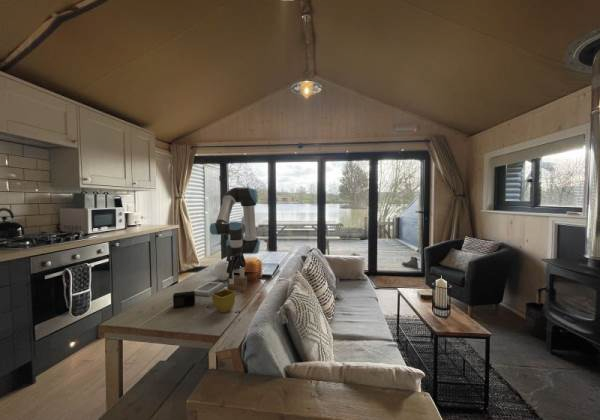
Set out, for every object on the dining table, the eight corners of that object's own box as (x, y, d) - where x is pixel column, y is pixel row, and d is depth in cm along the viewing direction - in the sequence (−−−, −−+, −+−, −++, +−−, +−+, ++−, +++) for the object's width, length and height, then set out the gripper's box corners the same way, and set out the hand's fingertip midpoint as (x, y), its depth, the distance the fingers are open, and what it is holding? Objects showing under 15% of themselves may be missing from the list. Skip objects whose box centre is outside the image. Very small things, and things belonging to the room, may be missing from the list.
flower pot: (222, 315, 134) (221, 297, 134) (211, 311, 140) (211, 293, 139) (236, 309, 141) (236, 292, 141) (225, 305, 147) (225, 288, 146)
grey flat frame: (208, 283, 182) (208, 280, 181) (227, 285, 178) (227, 282, 178) (188, 294, 162) (188, 291, 162) (209, 296, 159) (209, 293, 159)
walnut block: (231, 287, 174) (230, 275, 174) (247, 288, 171) (246, 276, 171) (227, 289, 170) (227, 277, 169) (243, 291, 167) (243, 278, 166)
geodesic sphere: (242, 271, 190) (233, 254, 193) (227, 276, 178) (217, 258, 182) (230, 280, 196) (222, 264, 200) (215, 286, 185) (206, 268, 188)
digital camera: (172, 309, 142) (172, 296, 141) (174, 305, 147) (174, 292, 146) (194, 307, 145) (193, 294, 144) (195, 303, 150) (194, 290, 149)
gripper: (240, 242, 182) (240, 274, 183) (219, 250, 158) (220, 286, 159) (250, 243, 180) (251, 274, 181) (231, 250, 156) (232, 287, 157)
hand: (236, 280), depth 170 cm, fingers open, 13 cm apart
